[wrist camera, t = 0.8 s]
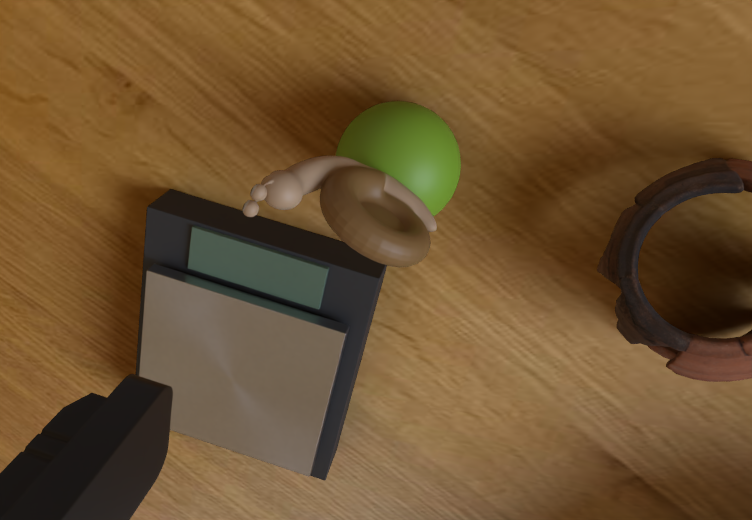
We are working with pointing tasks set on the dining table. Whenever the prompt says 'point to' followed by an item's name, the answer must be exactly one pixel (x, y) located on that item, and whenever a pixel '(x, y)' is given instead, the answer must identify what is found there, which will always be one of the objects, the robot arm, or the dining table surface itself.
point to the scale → (270, 278)
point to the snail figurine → (377, 182)
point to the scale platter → (240, 367)
